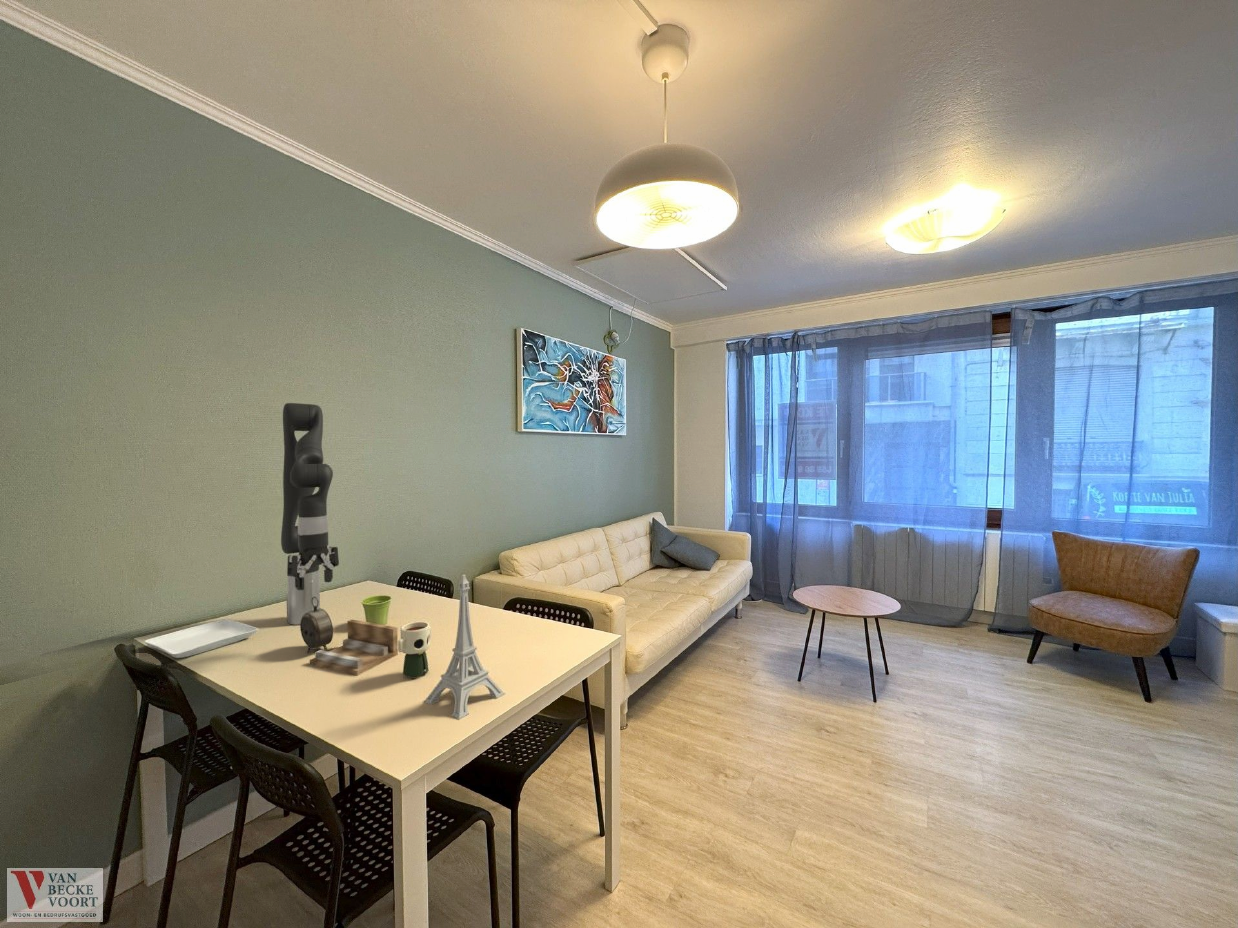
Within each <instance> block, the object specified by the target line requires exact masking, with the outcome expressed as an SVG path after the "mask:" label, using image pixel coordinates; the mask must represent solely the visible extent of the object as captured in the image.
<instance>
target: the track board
mask: <svg viewBox="0 0 1238 928" xmlns="http://www.w3.org/2000/svg"><path fill="white" fill-rule="evenodd" d="M398 641H399V639H398V627H397V626H391V625H387V624H385V625H380V624H375V623H369V622H366V621H363V620H357V619H349V620H347V638H345V639H343V640H342V645H341V646H338V647H336V648H334V649H332V650H330V651H329V650H328V651H325V650H322V649H320V650H318V651H315V655H314V657H313V658H312V659H311V658H310V659H309V665H311V666H316V667H320V668H325V669H328V670H329V669H330V670H333V671H337V672H341V673H346V674H351V675H355V676H359V675H361V674H363V673H364V672H367V671H369V670H370V669H373V668H374V667H376V666H379V665H380V664H383V663H384V662H387V661H388V660H390V659H392V658H394V657H396V656H398V652H399V651H398Z"/></svg>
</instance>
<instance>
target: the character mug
mask: <svg viewBox="0 0 1238 928" xmlns="http://www.w3.org/2000/svg"><path fill="white" fill-rule="evenodd" d="M431 637H432V627H431V626H430V623H429V622H427V621H413V622H408V623H406V624H404V625H402V626H401V627H400V639H398V652H399V653H402V654H405V655H404V659H403V660H404V661H403V669H402V675H403V676H405V677H406V678H407V677H408V678H411V679H412V678H419V677H422V676H424V671H425V674H427V673H429V663H428V657H427V652H426V651H428V649H429V648H430V646H431Z"/></svg>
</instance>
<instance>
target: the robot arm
mask: <svg viewBox="0 0 1238 928" xmlns="http://www.w3.org/2000/svg"><path fill="white" fill-rule="evenodd" d="M282 429H283V445H284V446H283V447H284V448H283V451H284V453H283V455H284V456H283V472H282V475H283V476H282V488H283V490H282V491H283V495H282V496H283V509H282V510H283V511H282V513H283V514H282V521H281V522H282V523H281V525H282V526H281V536H280V546H281V550H282V552H283V553H284V554H285V555H288V556H287V565H286V567H287V571H286V572H287V573H286V575H287V594H286V597H285V598H286V622H288V624H290V625H296V626H297V625H300V622H301V619H302V617H303V615H304V614H305V613H307V612H310V611H313V610H314V608H313V605H314V606H317V599H316V598H313V597H314V596H315V597H317V598H318V602H319V603H318V606H317V609H319V608H321V594H320V592H321V590H320V588H321V587H320V586H321V585H320V565H321V566H322V567H323V569H324V570H323V572H324V573H323V576H324V577H323V578H324V579H323V580H324V582H325V583H331V582H332V581H333V579H334V578H333V577H334V576H333V573H334V571H333V570H334V568H335V567H339V566H340V565H339V564H340V561H339V560H340V559H339V548H338V547H337V546H329V521H328V515H327V514H328V508H327V507H328V506H327V503H328V501H327V499H328V495H329V489H330V487H331V484H332V481H333V477H334V471H333V469H332V467H331V465H329V464H327V463H324V454H323V448H322V447H323V446H322V445H323V444H322V443H323V442H322V441H323V433H324V430H323V429H324V414H323V410H322V408H321V406H319V405H317V404H312V403H297V402H294V403H293V402H287V403H285V404H284V406H283V410H282ZM295 432H306V433H305V434H304V435H302V436H301V437H300V438H299V439H298V440H297V437H296V435H295ZM316 488H318V490H317V491H316ZM315 491H316V492H315ZM297 520H298V521H297ZM328 546H329V547H328ZM293 554H295V555H293ZM327 556H328V557H327ZM312 598H313V605H312Z"/></svg>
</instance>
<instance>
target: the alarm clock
mask: <svg viewBox="0 0 1238 928" xmlns="http://www.w3.org/2000/svg"><path fill="white" fill-rule="evenodd" d="M313 598H316V599H317V606H318V603H319V602H318V598H317V597H315V596H314V597H313ZM313 598H312V605H313ZM317 606H314V605H313V608H314V610H313V611H310V612H307V613H305V614H304V615H303V617H302V619H301V622H300V624H299V630H300V634H301V637H302V640H303V642H304V643H305V645H306V646H307V647H308V649H307V651H306V653H309V652H310V650H311V649H312V650H315V649H318V648H321V647H323V649H324V651H328V652H329V650H328V647H327V645H329V644H330V643H331V642H332V640H333V638H334V626H333V622H332V619H331V617H330V615H329V613H328V612H327V611H326V610H325V609H323V608H321V607H320V608H319V609H317Z"/></svg>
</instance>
